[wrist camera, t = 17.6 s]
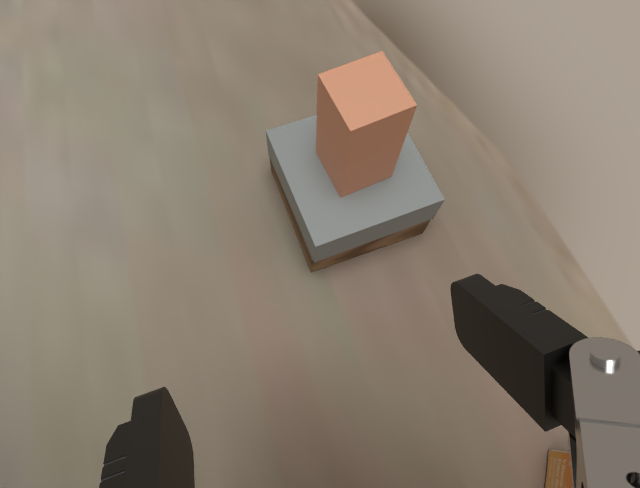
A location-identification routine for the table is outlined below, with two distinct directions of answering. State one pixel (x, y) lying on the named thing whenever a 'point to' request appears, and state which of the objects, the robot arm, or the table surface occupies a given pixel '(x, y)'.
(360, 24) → the table surface
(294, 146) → the slate-grey slab
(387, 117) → the terracotta block
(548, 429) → the robot arm
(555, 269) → the table surface
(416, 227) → the walnut slab
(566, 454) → the small box
